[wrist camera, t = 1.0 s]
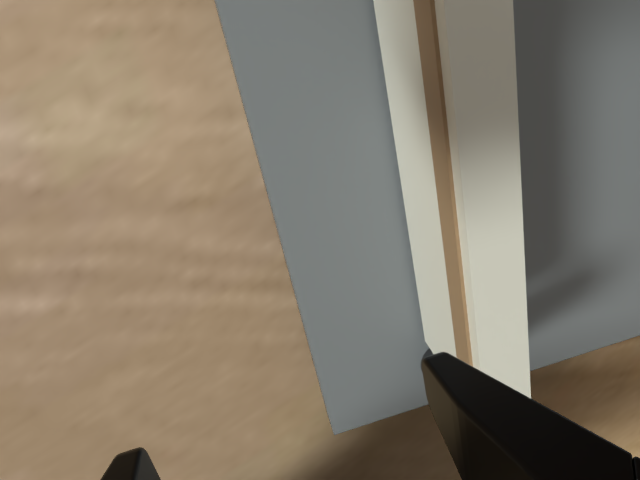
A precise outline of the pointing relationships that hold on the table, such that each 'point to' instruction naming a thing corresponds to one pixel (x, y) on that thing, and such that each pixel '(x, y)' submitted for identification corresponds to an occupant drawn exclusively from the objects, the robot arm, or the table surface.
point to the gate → (461, 175)
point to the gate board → (387, 198)
